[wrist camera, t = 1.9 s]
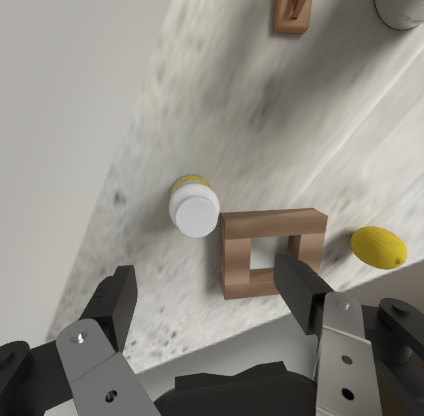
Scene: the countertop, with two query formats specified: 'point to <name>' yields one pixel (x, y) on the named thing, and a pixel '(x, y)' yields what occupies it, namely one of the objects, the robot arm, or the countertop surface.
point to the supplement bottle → (193, 206)
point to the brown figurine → (291, 16)
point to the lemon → (378, 248)
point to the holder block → (266, 247)
